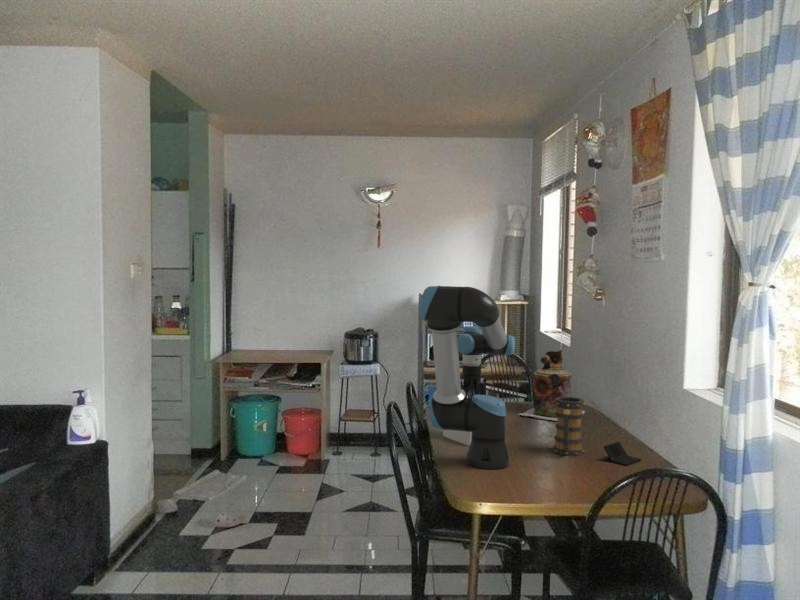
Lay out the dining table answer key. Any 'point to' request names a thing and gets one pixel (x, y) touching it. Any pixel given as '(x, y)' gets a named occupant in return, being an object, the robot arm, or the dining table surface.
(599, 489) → the dining table surface
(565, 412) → the mug
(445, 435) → the stand
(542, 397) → the cookie jar
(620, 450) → the handheld gaming console
